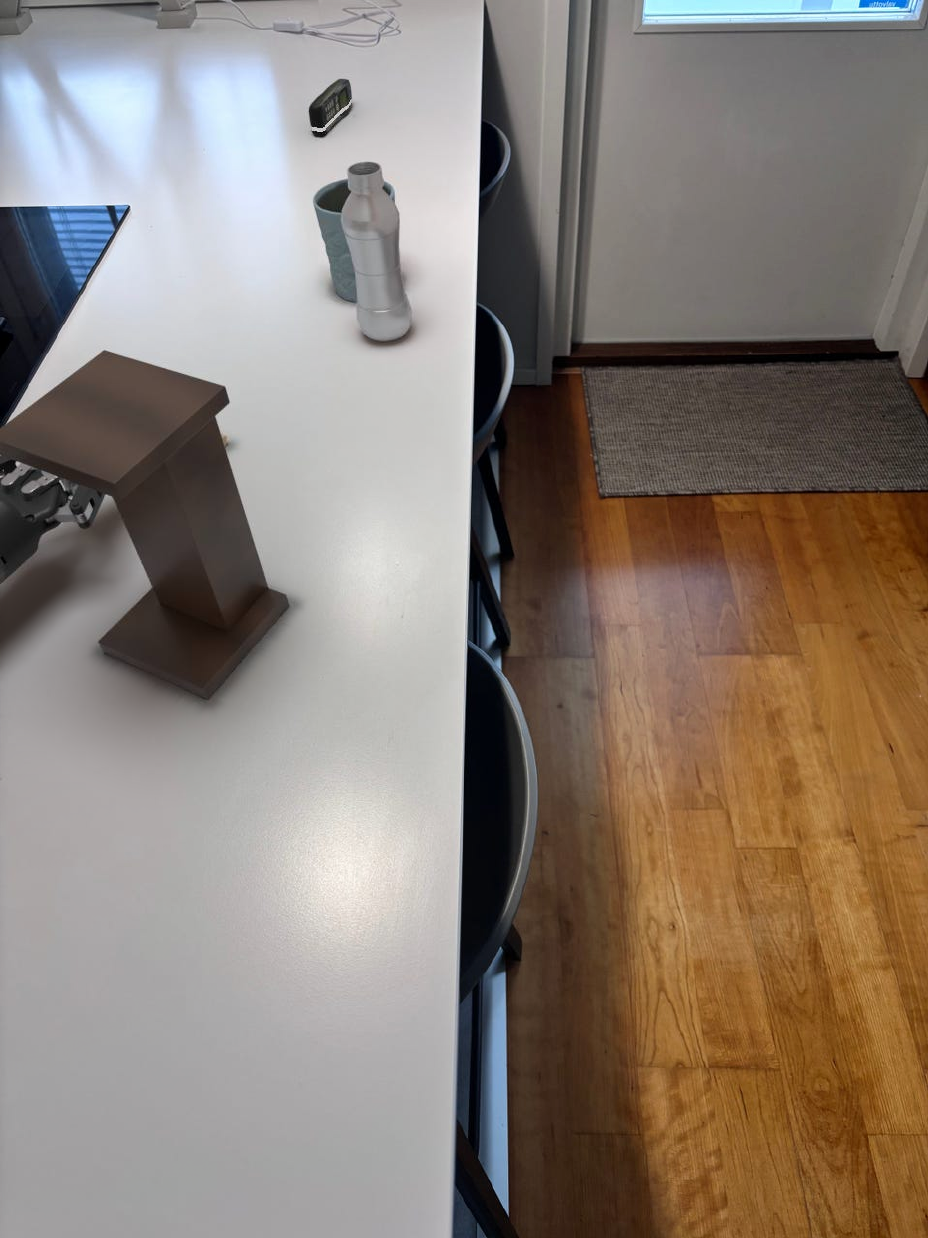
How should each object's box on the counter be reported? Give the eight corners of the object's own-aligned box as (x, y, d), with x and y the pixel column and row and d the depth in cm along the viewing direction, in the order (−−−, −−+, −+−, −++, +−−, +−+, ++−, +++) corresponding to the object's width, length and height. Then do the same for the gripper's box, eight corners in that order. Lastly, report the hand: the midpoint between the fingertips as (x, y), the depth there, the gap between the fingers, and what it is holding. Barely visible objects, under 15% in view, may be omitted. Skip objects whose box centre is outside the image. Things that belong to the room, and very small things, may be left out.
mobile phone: (320, 107, 154) (355, 71, 163) (303, 106, 154) (338, 70, 163) (326, 139, 157) (359, 101, 166) (309, 138, 158) (343, 100, 167)
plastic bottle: (413, 346, 115) (394, 179, 100) (357, 349, 115) (330, 183, 100) (414, 317, 119) (396, 153, 104) (361, 320, 119) (335, 157, 104)
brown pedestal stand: (208, 699, 81) (114, 483, 63) (103, 652, 85) (-13, 437, 67) (289, 605, 88) (225, 385, 70) (188, 566, 92) (104, 349, 74)
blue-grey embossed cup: (351, 313, 121) (336, 221, 112) (314, 281, 126) (297, 191, 117) (419, 287, 124) (409, 195, 115) (380, 257, 130) (368, 168, 121)
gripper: (-68, 558, 87) (63, 447, 97) (42, 607, 82) (170, 484, 92) (-111, 498, 82) (33, 386, 91) (5, 546, 77) (145, 422, 86)
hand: (101, 436), depth 91 cm, fingers closed on spatula, 3 cm apart
